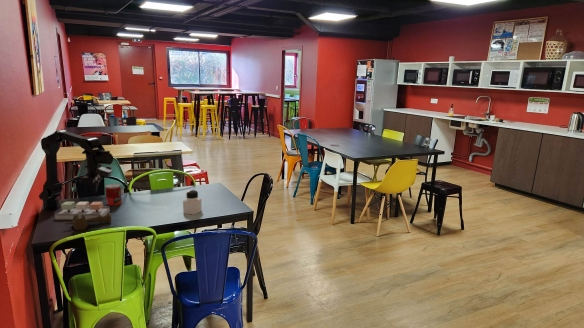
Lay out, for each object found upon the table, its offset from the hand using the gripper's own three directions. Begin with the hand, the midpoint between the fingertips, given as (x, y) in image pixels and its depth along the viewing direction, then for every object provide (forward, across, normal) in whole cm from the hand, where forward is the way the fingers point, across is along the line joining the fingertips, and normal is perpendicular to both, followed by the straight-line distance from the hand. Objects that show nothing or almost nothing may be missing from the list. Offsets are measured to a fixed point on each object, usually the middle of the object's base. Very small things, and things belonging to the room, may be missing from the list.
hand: (95, 192), depth 195 cm
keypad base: (+12, 0, +7) cm, 14 cm away
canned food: (+13, +18, -2) cm, 22 cm away
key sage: (+9, 0, +14) cm, 16 cm away
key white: (+9, 0, +7) cm, 11 cm away
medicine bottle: (+13, +5, -48) cm, 50 cm away
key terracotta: (+9, 0, 0) cm, 9 cm away
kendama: (+13, -14, -2) cm, 19 cm away
